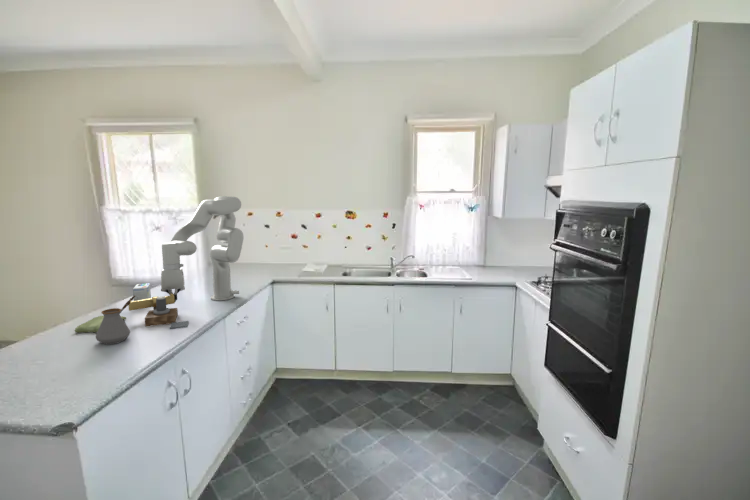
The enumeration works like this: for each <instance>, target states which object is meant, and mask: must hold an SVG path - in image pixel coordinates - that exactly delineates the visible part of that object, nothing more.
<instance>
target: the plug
mask: <svg viewBox="0 0 750 500" xmlns="http://www.w3.org/2000/svg"><path fill="white" fill-rule="evenodd" d="M156 297H157V299H156V307H157V309H155V310H154V311H153V314H155V315H162V314H167V313H169V312H170V308H171V307H170V308H169V307H167V305H166V298H165V297H164V296H156Z"/></svg>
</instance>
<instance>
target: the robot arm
mask: <svg viewBox="0 0 750 500" xmlns="http://www.w3.org/2000/svg"><path fill="white" fill-rule="evenodd" d="M241 208H242V201H241V199H240V198H238V197H236V196H225V195H224V196H222V195H221V196H220V195H219V196H217V197H215V198H214V199H204V200H202V201H201V202H200V204H199V206H198V207H197V209H196V211H195V212H194V214H193V215H192V217H191V219H190V220H189V221H188V222H186V224H184V225H183V226H182V227H181V228H179V229H178V230H177V231H176V232H175V233H174V235H173V237H172V238H171V239H170V241H169V242H163V243H162V244H161V254H162V255H161V257H162V269H161V273H160V286H161V287H160V292H164V293H167V294H168V296H170V294H174V300H175V303H176V301H177V300H178V294H179V292H182V291H185V289H186V287H185V276H184V271H183V268H182V267H184V263H181V259H180V257H181V256H191V255H194V254H195V253H196V252H197V249H198V247H197V245H196V244H195V243H194V242H193V241H190V240H189V239H190V238H191V237H192V236H193V235H196V234H198V233H201V232H202V231H205V230H206V229H207V227H208V225H209V223H210V221H211V220H212V219H213V217H214V216H219V223H218V228H217V232H216V233H217V234H216V240H217V241H218V242H219V243H223V244H224V245H223V244H216V245H214V246H212V247H211V248H210V251H209V257H210V260H211V261H210V262H211V266H212V282H213V283H212V286H213V287H212V288H213V291H212V292H213V293H212V295H211V296H210V299H211V300H212V301H218V302H219V301H228V300H231V299H233V298H234V297H235V295H239V294H240V290H237V289H236V290H233V289H232V287H231V286H232V285H231V284H232V282H231V266H230V263H231V264H234V263H237V261H238V260H239V258H240V256H241V253H242V249H243V243H244V233H243V231H242V230H241V229H240V228H237V227H236V215H235V213H236V212H239V210H240V209H241ZM225 244H227V245H225ZM173 290H174V292H173Z"/></svg>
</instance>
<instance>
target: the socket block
mask: <svg viewBox="0 0 750 500" xmlns="http://www.w3.org/2000/svg"><path fill="white" fill-rule="evenodd" d="M152 308H153V309H150V310H148V311H147V313H146V315H145V317H144V323H145V325H144V326H145V327H154V326H163V325H171V323H172V322H177V319H178V317H179V315H178V312H179V311H178V307H173V308H172V307H170V312H169V313H167V314H162V315H155V314H153V311H154V310H155V309H157V307H152Z"/></svg>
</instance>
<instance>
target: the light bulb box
mask: <svg viewBox="0 0 750 500" xmlns="http://www.w3.org/2000/svg"><path fill="white" fill-rule="evenodd" d="M151 294H152V293H151V283H150V282H148V283H147V282H146V283H136V284H135V286H134V287H133V288H132V297H133V296H137V297H138V299H137V297H134V299H133V300H132V301H137V300H144V299H151V298H152V295H151Z"/></svg>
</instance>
